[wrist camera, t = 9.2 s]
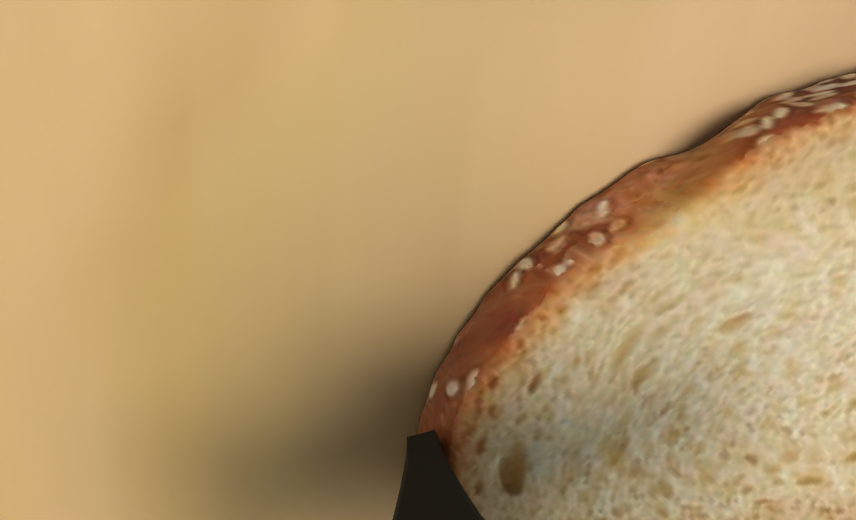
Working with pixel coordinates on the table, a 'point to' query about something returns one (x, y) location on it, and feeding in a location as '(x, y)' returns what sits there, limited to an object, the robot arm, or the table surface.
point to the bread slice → (676, 339)
